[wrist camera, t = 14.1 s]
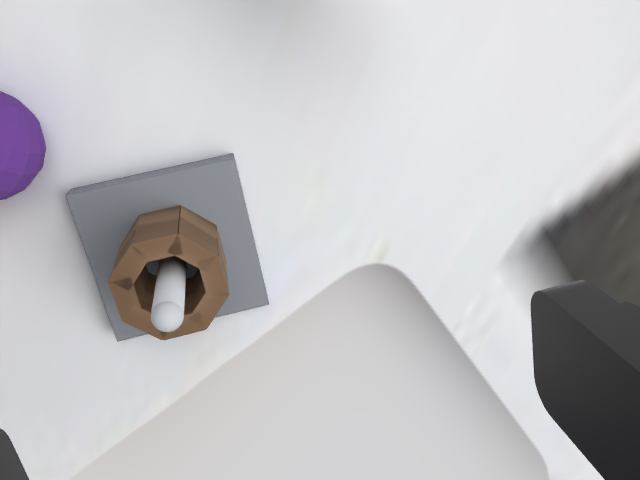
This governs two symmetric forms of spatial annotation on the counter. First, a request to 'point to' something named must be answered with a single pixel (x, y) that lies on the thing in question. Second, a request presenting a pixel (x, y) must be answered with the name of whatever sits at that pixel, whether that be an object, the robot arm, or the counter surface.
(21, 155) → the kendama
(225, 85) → the counter surface
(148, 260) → the bead
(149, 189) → the rod stand
